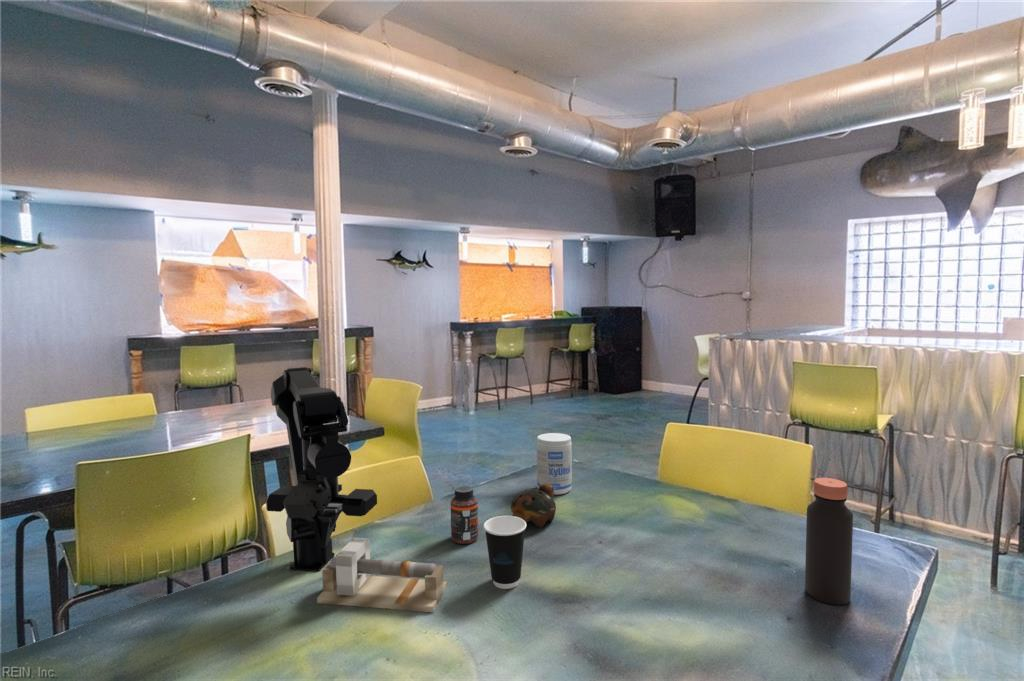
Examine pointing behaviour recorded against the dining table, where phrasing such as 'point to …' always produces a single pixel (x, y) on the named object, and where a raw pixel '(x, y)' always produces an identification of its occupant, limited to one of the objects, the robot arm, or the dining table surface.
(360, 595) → the pipe rig
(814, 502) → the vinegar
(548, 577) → the dining table surface
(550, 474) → the supplement tub
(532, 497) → the ocarina
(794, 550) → the dining table surface
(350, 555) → the collar
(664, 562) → the dining table surface
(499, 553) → the dixie cup
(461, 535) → the supplement bottle
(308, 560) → the robot arm
